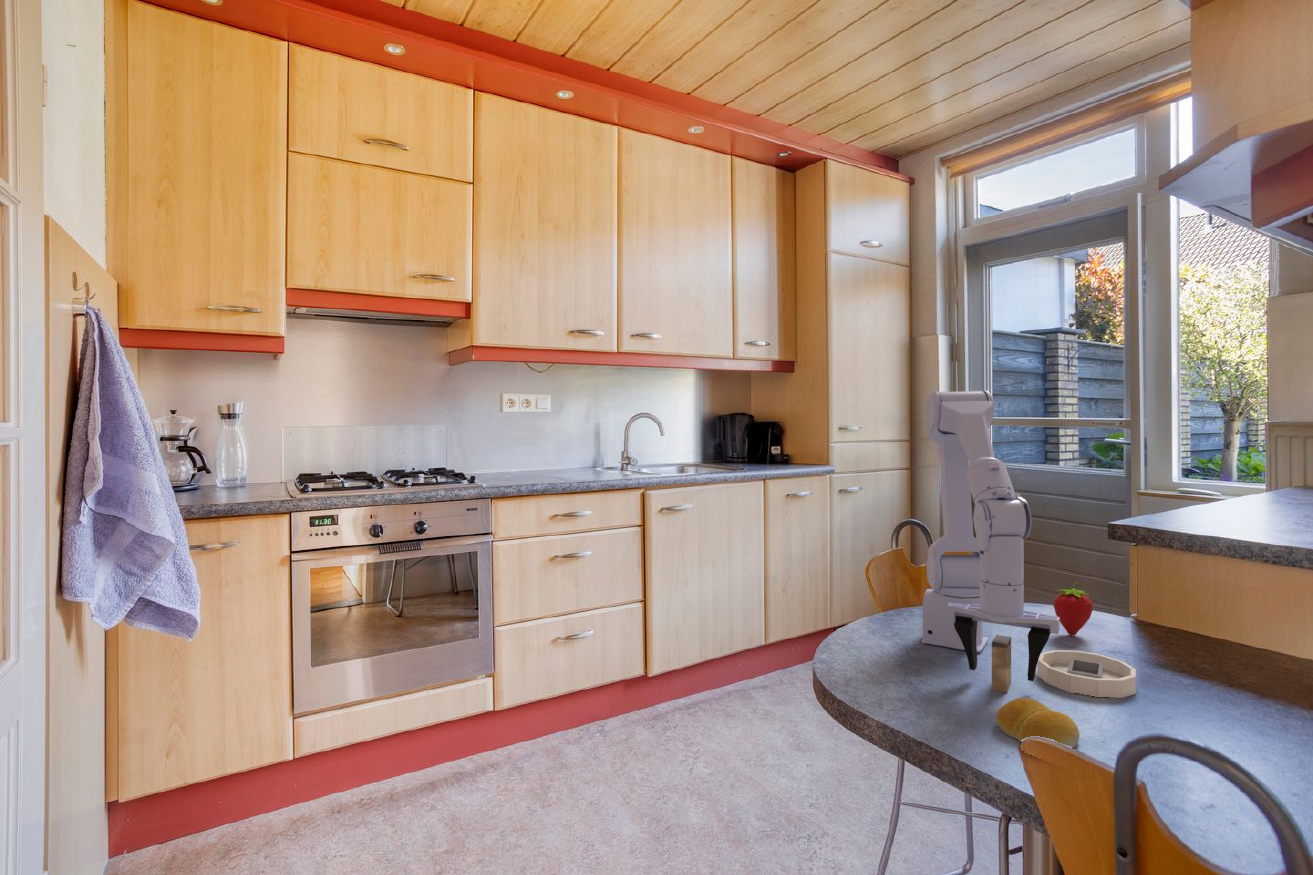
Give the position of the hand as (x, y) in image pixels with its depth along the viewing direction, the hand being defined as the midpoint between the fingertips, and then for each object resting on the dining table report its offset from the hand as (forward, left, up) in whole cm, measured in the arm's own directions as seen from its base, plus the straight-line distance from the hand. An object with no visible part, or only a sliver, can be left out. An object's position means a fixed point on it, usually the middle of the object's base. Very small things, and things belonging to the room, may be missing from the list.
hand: (1001, 673), depth 99 cm
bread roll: (+6, -14, -2) cm, 15 cm away
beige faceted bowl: (+10, +9, -2) cm, 14 cm away
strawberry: (+7, +32, -2) cm, 33 cm away
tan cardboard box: (0, 0, -2) cm, 2 cm away
